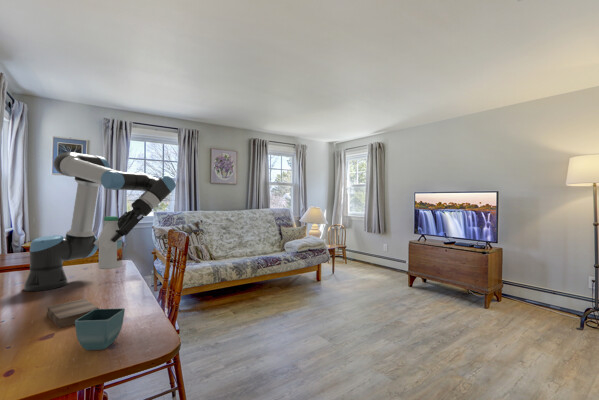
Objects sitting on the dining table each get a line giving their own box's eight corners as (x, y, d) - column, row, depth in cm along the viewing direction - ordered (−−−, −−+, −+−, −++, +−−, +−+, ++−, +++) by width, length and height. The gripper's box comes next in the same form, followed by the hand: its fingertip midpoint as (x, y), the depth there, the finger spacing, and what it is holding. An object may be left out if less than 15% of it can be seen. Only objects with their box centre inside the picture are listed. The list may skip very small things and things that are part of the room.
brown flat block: (47, 315, 100) (47, 306, 100) (84, 306, 109) (85, 298, 109) (59, 328, 90) (59, 318, 90) (99, 317, 99) (99, 308, 99)
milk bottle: (110, 270, 106) (111, 217, 106) (93, 269, 107) (94, 216, 107) (126, 265, 113) (127, 216, 113) (110, 264, 115) (111, 215, 115)
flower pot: (94, 338, 84) (94, 308, 84) (125, 337, 84) (125, 307, 85) (72, 354, 75) (73, 321, 75) (107, 353, 76) (108, 320, 76)
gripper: (163, 211, 116) (118, 256, 104) (141, 209, 129) (99, 249, 116) (150, 198, 112) (101, 243, 99) (128, 197, 125) (83, 237, 112)
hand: (100, 246), depth 108 cm, fingers closed on milk bottle, 7 cm apart
